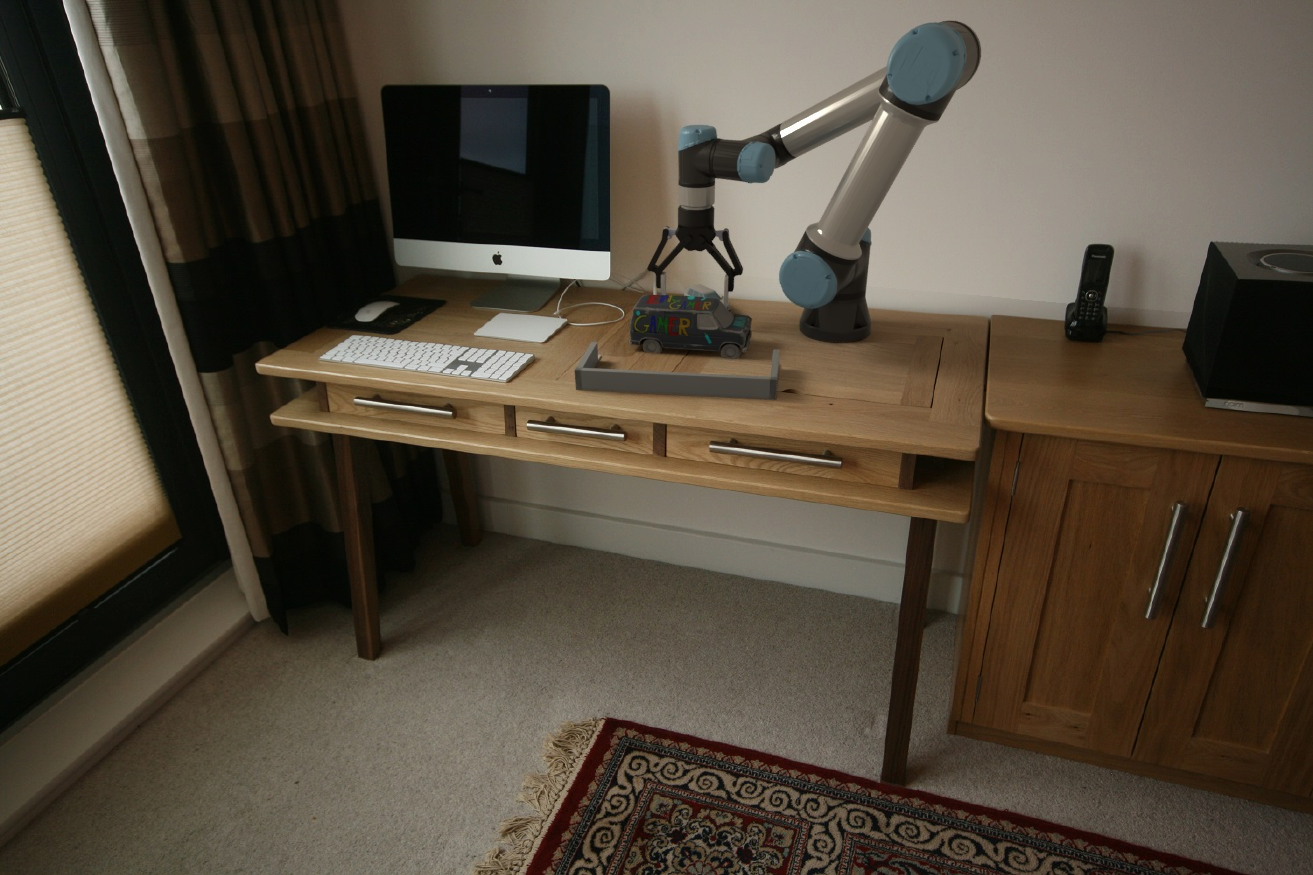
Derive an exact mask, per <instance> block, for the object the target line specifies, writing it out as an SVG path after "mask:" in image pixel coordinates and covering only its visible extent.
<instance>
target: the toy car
mask: <svg viewBox="0 0 1313 875" xmlns="http://www.w3.org/2000/svg"><path fill="white" fill-rule="evenodd" d="M683 296H695V297H704V298H716V299H719V300H720V301H721V302H722V303H723V304H724V295H721V296H720V294H718V292H717V291H716V290H714V289H712V288H710V287H708V286H706V285H703V284H700V283H697V284H692V285H688V286H687V288H686V289H685V290H684V293H683ZM731 308H732V307H731V304H730V302H729V301H728V306H727V309H728V310H729V311H730V312H731V313H732V309H731Z"/></svg>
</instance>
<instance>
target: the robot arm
mask: <svg viewBox="0 0 1313 875" xmlns="http://www.w3.org/2000/svg"><path fill="white" fill-rule="evenodd" d="M981 58H982V46H981V41H980V39H979V37H978V35H977V33H976V32H975V31H974V29H973V28H972V27H970V26H969V25H968V24H966V23H964V22H961V21H958V20H943V21H939V22H936V21H935V22H926V23H922V24H920V25H917V26H915V27H913V28H911V29H910V30H909V31H908V32H907V33H905V34H903V36H901V37H900V38H899V39H898V40H897V41H896V43H895V44H894V46H893V48H892V49H891V51H890V53H889V56H888V59H887V63H886V66H884V67H882V68H880V69H878V70H877V71H875V72H873V73H871V74H869V75H867V76H866V77H864V78H862V79H860V80H858V81H856V82H854V83H853V84H851V85H849V86H847V87H845V88H843V89H842V90H840V91H838V92H836V93H834V94H831V96H829V97H827V98H825V99H823V100H821V101H819V102H818V103H815V104H814V105H812V106H810V107H808V108H806V109H805V110H803V111H801V112H799V113H797V114H795V115H793V116H792V117H790V118H788V119H786V120H784V121H783V122H781V123H778V124H777V125H775V126H773V127H771V128H769V129H767V130H766V131H763V132H761V133H759V134H757V135H756V134H755V135H753V136H750V137H748V138H745V139H741V140H736V139H724V138H719V137H718V133H717V129H716V127H715V126H712V125H708V124H690V125H685V126H683V127H681V128H680V130H679V132H678V146H677V152H678V153H677V154H678V156H677V159H678V180H677V181H678V184H677V203H678V205H679V206H678V207H677V228H671V227H670V226H668V225H666V226H665V227H663V229H662V234H661V239H660V242H659V243H658V246H657V248H656V249H655V252H654V254H653V255H652V258H651V260H650V262H649V264H648V265H647V268H646V269H647V271H648V272H652V273H654V274H655V287H656V289H660V295H667V271H664V270H665V269H667V267H668V266H669V265H670V264H671V263H672V262H673V261H674V259H676V257H677V256H678V255H679V254H680V253H681V252H682V251H683V250H684V249H685V250H686V251H687V252H693V251H697V252H703V251H705V250H706V252H707V253H708V254H709V255H710V256H711V257H712V258H713V259H714V261H715V262H716V263H717V264H718V265H719V267H720V268H721V270H722V271H723V272H724V273H725V276H724V287H723V288H724V290H723V299H724V305H725V307H726V308H727V306H728V302H729V293H733V291H734V289H735V277H737V276H741V275H743V271H744V266H743V265H742V262H741V260H740V258H739V256H738V253H737V252H736V249H735V248H734V246H733V242H732V241H731V239H730V229H728V228H727V227H726V228H723V229H719V230H716V228H715V206H713V205H714V204H715V199H716V191H715V190H716V179H718V180H719V179H720V180H728V181H735V182H741V183H742V182H743V183H747V184H755V183H756V184H765V183H767V182H768V181H769V180H770V178H771V176H773V174H774V171H775V169H779V168H781V167H784V166H785V165H786V164H788V163H789V162H791V161H793V160H795V159H797V158H798V157H801V156H802V155H804V154H806V153H809V152H810V151H813V150H814V149H817V148H819V147H821V146H823V145H824V144H826V143H829V142H831V141H833V140H835V139H837V138H839V137H841V136H843V135H844V134H846V133H849V132H851V131H853V130H854V129H857V128H858V127H859V128H860V126H863V125H864V124H867V123H869V122H870V124H869V126H868V128H867V130H866V132H865V133H864V136H863V137H862V139H861V142H860V144H859V145H858V147H857V149H856V151H855V153H854V155H853V157H852V158H851V160H850V162H849V164H848V166H847V168H846V170H845V172H844V173H843V175H842V177H841V179H840V181H839V183H838V185H837V187H836V189H835V191H834V193H833V194H832V196H831V198H830V200H829V202H828V204H827V206H826V207H825V210H824V212H823V213H822V215H821V217H820V219H819V221H817V222H814V223H811V224H809V225H808V226H807V227H806V229H805V231H804V232H803V234H802V237H801V238H800V240H799V242H798V244H797V245H796V248H795V250H794V251H793V252H792V253H790V254H788V255H787V256H786V258H785V259H784V260H783V262H782V263H781V265H780V267H779V272H778V280H779V285H780V288H781V290H782V292H783V294H784V296H786V298H787V299H788V300H789V301H790V302H791V303H793V304H794V305H795V306H798V307H800V308H803V310H802V312H801V315H800V318H799V331H800V332H801V334H802V335H804V336H806V337H808V338H810V339H814V340H816V341H821V342H828V343H849V342H850V343H851V342H857V341H861V340H863V339H866V338H867V337H869V335H871V331H872V320H871V316H870V312H869V307H868V303H867V299H866V294H867V283H868V277H869V276H868V274H869V264H870V255H871V246H872V245H873V244H872V230H871V229H870V228H869V226H870V224H871V223H872V221H873V219H874V217H875V215H876V213H877V212H878V211H879V209H880V206H881V205H882V203H883V202H884V200H885V198H886V196H887V194H888V192H889V191H890V189H891V188H892V185H893V184H894V182H895V181H896V179H897V177H898V175H899V173H900V172H901V170H902V168H903V166H904V164H905V162H906V161H907V159H908V158H909V156H910V154H911V152H912V151H913V148H914V147H915V145H916V143H917V141H918V140H919V139H920V136H921V134H923V131H924V129H925V128H926V127H927V126H931V125H933V124H936V123H938V122H939V121H940V119H941V118H942V115H943V114H944V112H945V111H946V109H947V108H948V106H949V104H950V102H951V100H952V99H953V97H954V96H955V94H956V91H957V90H959V89H961V88H963V87H964V86H966V85H967V84H968V83H969V82H970V81H971V80H972V79H973V77H974V76H975V75H976V73H977V72H978V69H979V66H980V63H981ZM673 236H675V237H676V238H677V240H678V241H679V242H678V243H677V245H676V246H675V247H674V248H673V249H672V250H671V251H670V253H668V255H667V256H666V257H665V258H664V259H663V260H662V261H661V263H660V264H659V265H657V262H658V260H659V258H660V256H661V254H662V252H663V250H664V248H665V247H666V245H667V243H668V241H669V240H671V239H672V238H673ZM715 238H718V239H719V241H721V242H722V243H723V246H724V248H725V251H726V253H727V256H728V257H729V259H730V262H731V264H732V265H733V267H732V266H731V265H730V263H729V262H728V260H727V259H726V258H725V257H724V256H723V254H722V253H721V252H720V251H719V249H718V248H717V247H716V245H715V243H714V242H713V241H714V240H715Z"/></svg>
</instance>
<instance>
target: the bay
mask: <svg viewBox="0 0 1313 875" xmlns="http://www.w3.org/2000/svg"><path fill="white" fill-rule="evenodd" d="M598 345H599V344H598V341H590V343H589V346H587V349H586V350H585V352H584V354H583V355H582V357H581V358H580V360H579V362H578V363H577V365H576V367H575V369H574V379H575V383H574V384H575V390H577V391H593V392H594V391H595V392H596V391H597V392H599V391H600V392H613V393H614V392H616V393H619V392H620V393H634V394H635V393H636V394H637V393H639V394H657V395H672V396H674V395H676V396H693V397H694V396H695V397H696V396H697V397H712V398H730V399H731V398H735V399H750V400H751V399H753V400H772V401H775V400H777V392H778V391H777V390H778V380H779V368H780V349H773V351H772V356H771V358H772V360H771V367H770V376H766V375H764V376H763V375H760V376H759V375H741V374H722V373H721V374H720V373H701V372H700V373H697V372H681V371H680V372H679V371H657V370H638V369H637V370H634V369H615V368H613V369H612V368H596V366H597V364H598V362H599V361H600V359H601V357H602V355H601V354H599V347H598Z"/></svg>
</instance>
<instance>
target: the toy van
mask: <svg viewBox="0 0 1313 875" xmlns="http://www.w3.org/2000/svg"><path fill="white" fill-rule="evenodd" d="M752 321H753V318H752V317H751V316H750V315H747V314H738V313H733V312H732V311H731V312H730V311H729V310H728V309H727V308H726V307H725V305H724V304H723V303H722V302H721V301H720V300H719V299H716V298H704V297H695V296H684V295H674V294H673V295H672V294H666V295H661V294H649V293H648V294H643V295H642V296H640V298H639V299H638V301H637V302H636V303H635V305H634V306H633V309H632V312H631V317H630V321H629V326H628V328H629V329H628V330H629V340H628V345H630V346H638V347H640V346H641V345H642V349H643V352H644V353H649V354H650V353H651V354H661V353H662V351H663V349H673V350H675V349H676V350H690V351H691V350H692V351H707V352H709V351H710V352H720V355H721V357H722V359H729V360H739V358H740V357H741V354H742V353H747V350H748V348H749V344H750V340H751V338H752V334H753V333H752V332H753V330H751V327H752Z"/></svg>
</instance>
